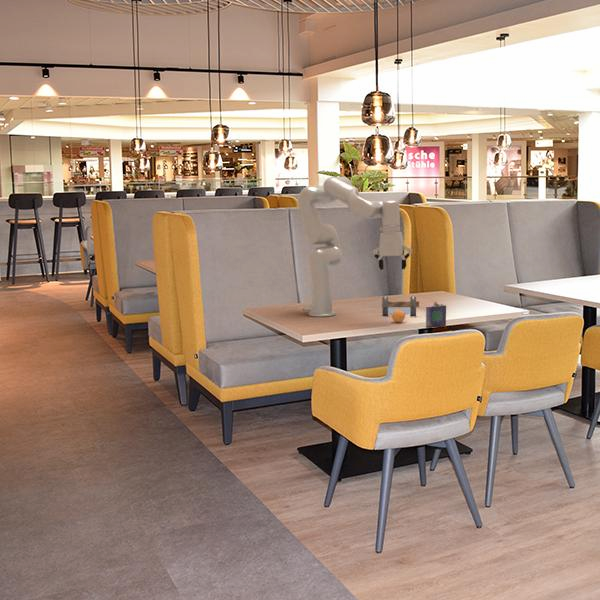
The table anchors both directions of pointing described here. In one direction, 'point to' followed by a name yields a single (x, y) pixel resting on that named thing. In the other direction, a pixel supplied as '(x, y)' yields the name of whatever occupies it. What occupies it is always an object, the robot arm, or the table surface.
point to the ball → (398, 316)
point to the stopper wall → (401, 303)
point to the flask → (436, 315)
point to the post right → (413, 306)
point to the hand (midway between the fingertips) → (392, 269)
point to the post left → (384, 306)
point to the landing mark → (391, 310)
